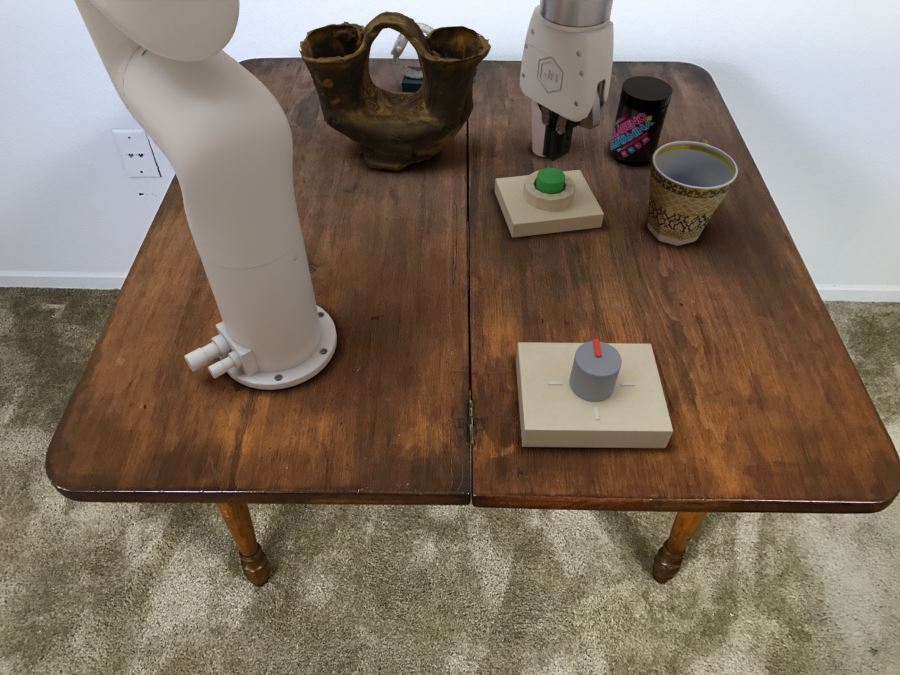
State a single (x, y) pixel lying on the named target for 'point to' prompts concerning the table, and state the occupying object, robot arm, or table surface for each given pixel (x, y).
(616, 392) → the control panel
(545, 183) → the button
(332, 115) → the pottery vessel
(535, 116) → the smoothie
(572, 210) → the block
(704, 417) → the table surface
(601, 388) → the program dial
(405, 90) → the watch
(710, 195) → the ceramic cup
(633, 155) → the supplement container
